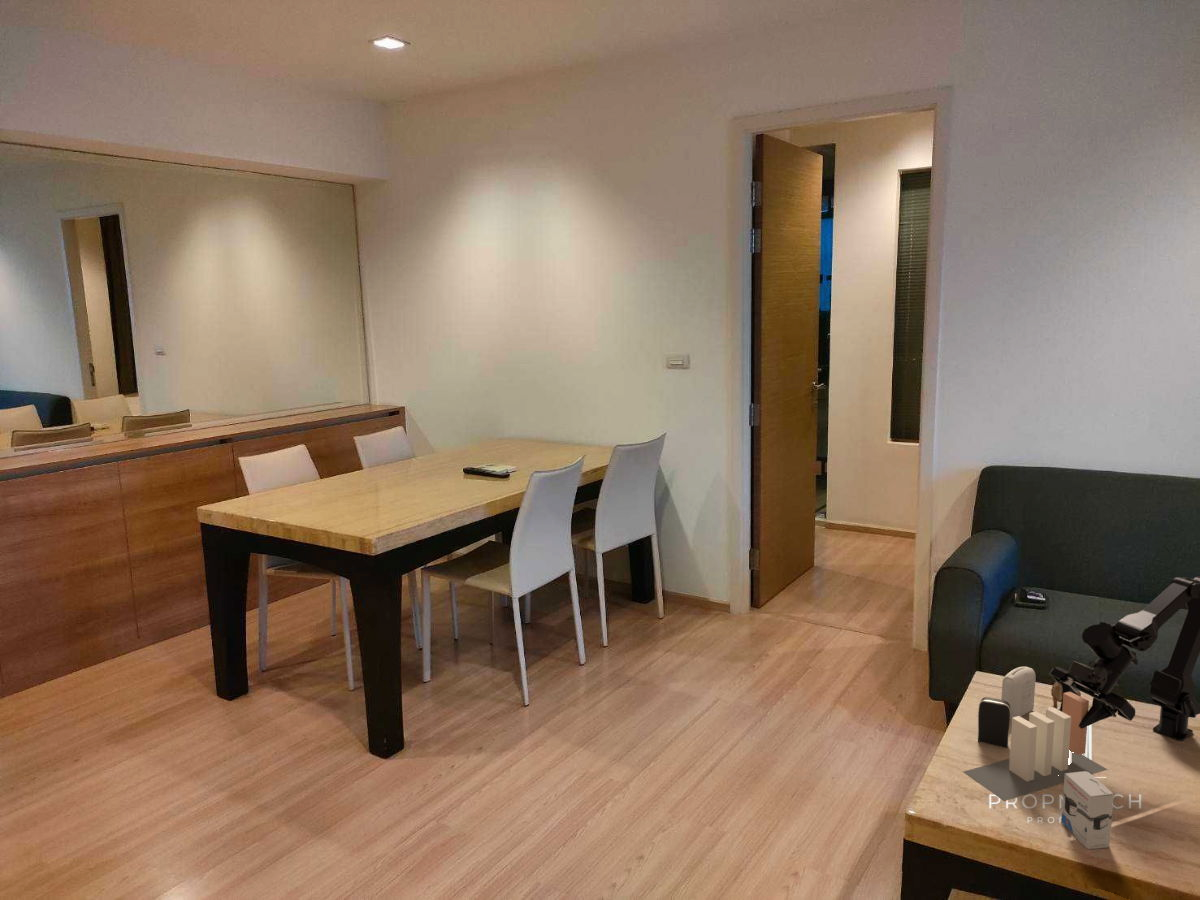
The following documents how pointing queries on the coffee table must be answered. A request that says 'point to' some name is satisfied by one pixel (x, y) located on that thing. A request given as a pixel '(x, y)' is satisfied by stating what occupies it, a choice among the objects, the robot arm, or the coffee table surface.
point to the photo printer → (1019, 690)
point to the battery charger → (994, 722)
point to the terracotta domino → (1076, 720)
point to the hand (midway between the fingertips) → (1069, 722)
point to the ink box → (1087, 809)
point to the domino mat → (1014, 786)
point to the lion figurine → (1058, 694)
